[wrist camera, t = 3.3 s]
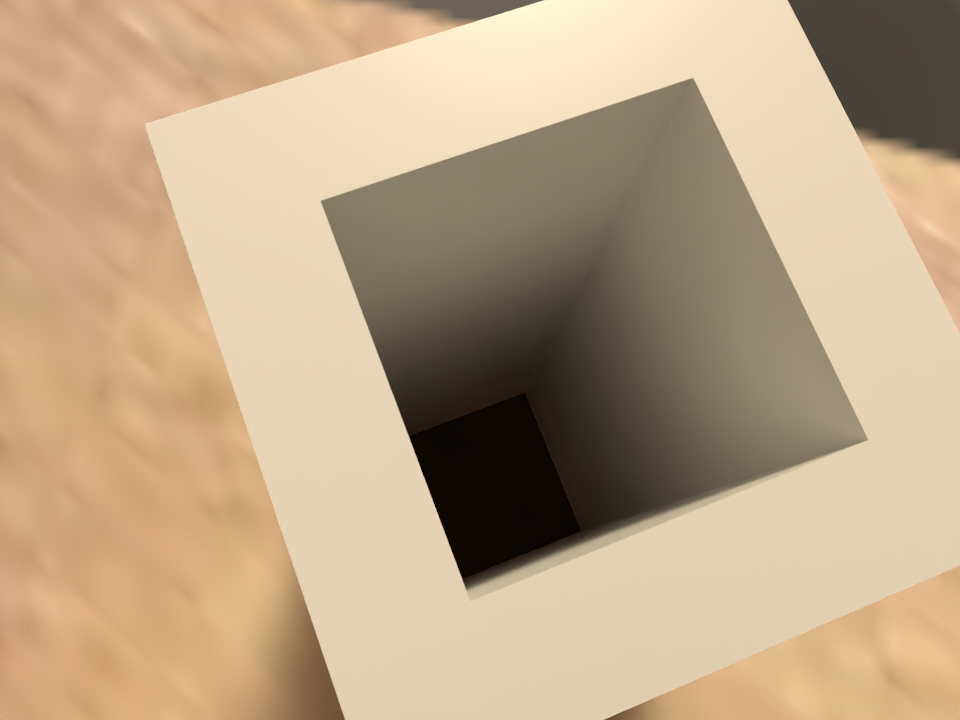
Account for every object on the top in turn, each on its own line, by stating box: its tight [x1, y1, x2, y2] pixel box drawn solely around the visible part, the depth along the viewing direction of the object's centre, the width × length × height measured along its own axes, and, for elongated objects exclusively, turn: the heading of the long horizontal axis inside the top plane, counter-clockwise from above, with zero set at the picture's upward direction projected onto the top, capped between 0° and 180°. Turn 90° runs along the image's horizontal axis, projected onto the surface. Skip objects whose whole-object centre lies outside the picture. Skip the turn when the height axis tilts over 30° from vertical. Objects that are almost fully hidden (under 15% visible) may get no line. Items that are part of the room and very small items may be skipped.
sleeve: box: [145, 0, 960, 720], centre depth 12 cm, size 5×5×12 cm
